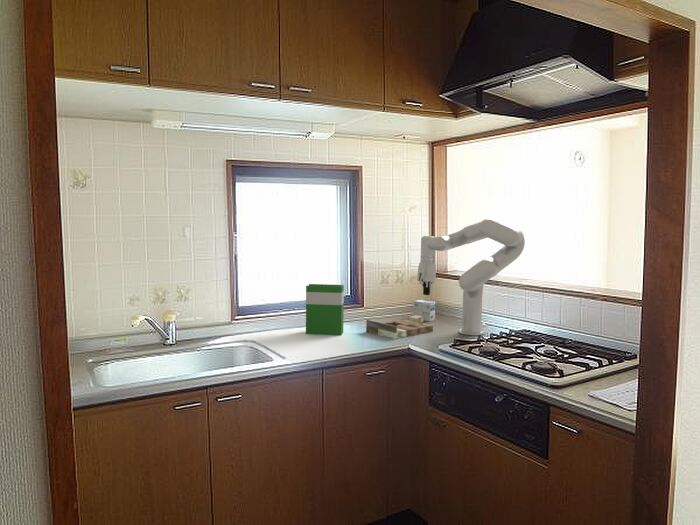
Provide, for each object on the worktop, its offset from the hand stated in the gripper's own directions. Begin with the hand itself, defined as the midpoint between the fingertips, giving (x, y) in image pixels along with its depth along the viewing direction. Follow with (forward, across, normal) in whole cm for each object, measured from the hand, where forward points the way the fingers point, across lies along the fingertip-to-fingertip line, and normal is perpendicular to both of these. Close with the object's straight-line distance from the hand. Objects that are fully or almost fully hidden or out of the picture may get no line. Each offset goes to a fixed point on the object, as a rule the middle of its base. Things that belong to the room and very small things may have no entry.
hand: (426, 294), depth 272 cm
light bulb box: (+18, -17, -16) cm, 29 cm away
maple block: (+15, +8, 0) cm, 17 cm away
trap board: (+18, +17, -2) cm, 25 cm away
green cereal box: (+18, +49, -24) cm, 57 cm away
